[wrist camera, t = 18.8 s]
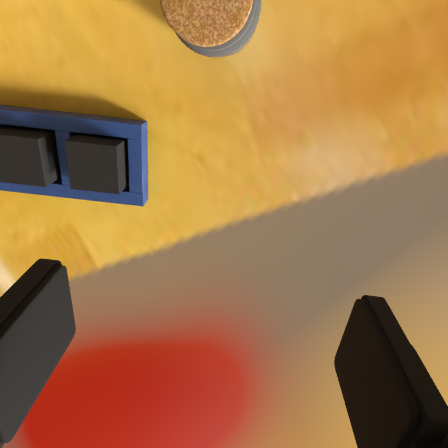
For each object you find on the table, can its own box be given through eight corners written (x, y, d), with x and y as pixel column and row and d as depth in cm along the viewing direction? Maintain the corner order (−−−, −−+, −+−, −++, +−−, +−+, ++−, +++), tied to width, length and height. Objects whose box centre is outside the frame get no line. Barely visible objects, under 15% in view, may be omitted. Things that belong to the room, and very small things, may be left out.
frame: (-9, 103, 34) (-22, 106, 32) (147, 120, 34) (141, 124, 32) (9, 183, 38) (-2, 190, 36) (147, 199, 38) (143, 206, 36)
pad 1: (12, 124, 35) (-15, 132, 31) (59, 129, 35) (38, 138, 31) (21, 169, 37) (-3, 182, 34) (65, 174, 37) (46, 187, 34)
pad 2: (82, 131, 35) (64, 140, 31) (129, 136, 35) (116, 145, 31) (87, 176, 37) (70, 189, 34) (131, 181, 37) (119, 194, 34)
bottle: (221, 70, 31) (204, 83, 18) (177, 16, 29) (122, -13, 16) (269, 21, 29) (290, -4, 16) (225, -40, 27) (208, -125, 14)
